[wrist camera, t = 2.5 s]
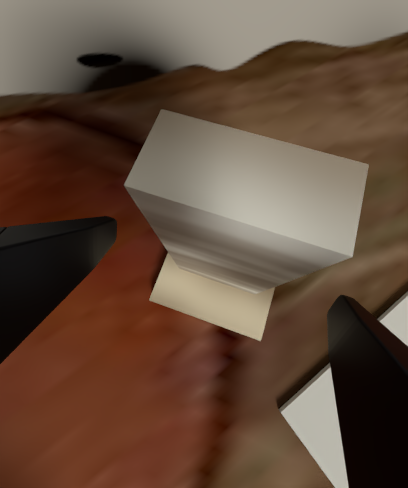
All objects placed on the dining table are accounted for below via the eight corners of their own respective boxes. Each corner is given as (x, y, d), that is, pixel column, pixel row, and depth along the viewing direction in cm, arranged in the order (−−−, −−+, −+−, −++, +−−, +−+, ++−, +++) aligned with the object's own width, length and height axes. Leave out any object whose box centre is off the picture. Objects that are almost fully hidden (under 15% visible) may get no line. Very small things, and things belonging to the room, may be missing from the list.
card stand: (256, 338, 17) (393, 413, 4) (153, 301, 18) (23, 274, 5) (283, 238, 19) (427, 94, 6) (190, 209, 20) (159, 32, 7)
